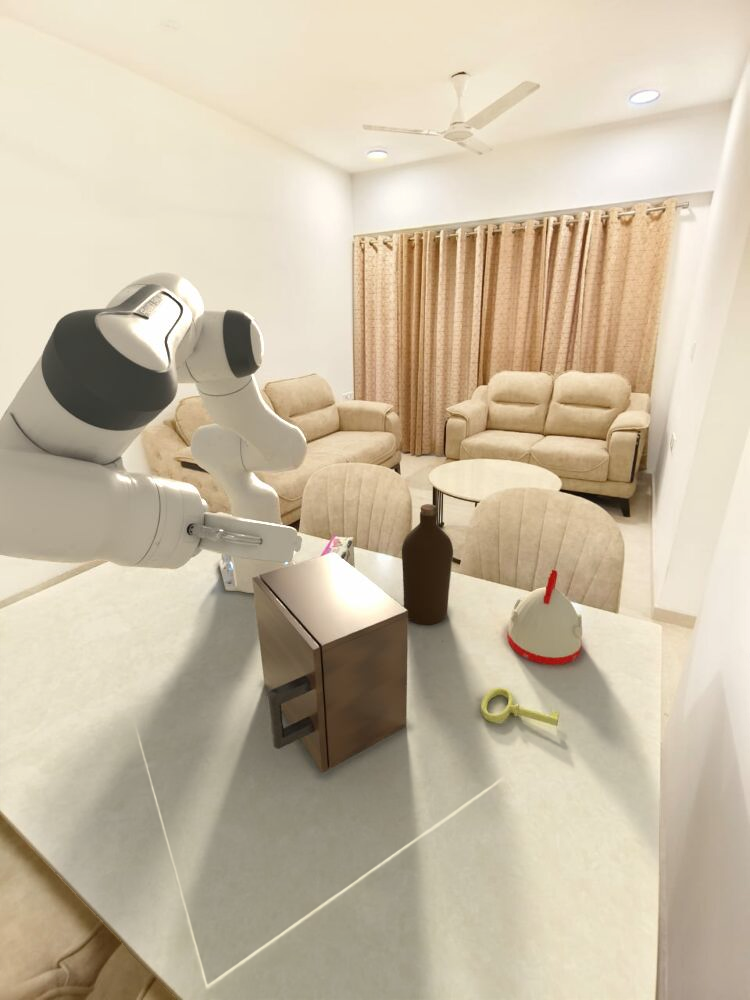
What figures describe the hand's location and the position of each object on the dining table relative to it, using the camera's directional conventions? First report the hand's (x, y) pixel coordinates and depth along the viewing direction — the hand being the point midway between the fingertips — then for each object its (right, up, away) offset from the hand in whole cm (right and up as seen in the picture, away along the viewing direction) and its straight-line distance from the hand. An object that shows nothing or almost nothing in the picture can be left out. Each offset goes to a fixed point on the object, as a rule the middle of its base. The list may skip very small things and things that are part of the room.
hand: (269, 538), depth 60 cm
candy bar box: (+5, -21, +49) cm, 53 cm away
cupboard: (+6, -30, +25) cm, 39 cm away
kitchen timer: (+46, -24, +40) cm, 65 cm away
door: (-3, -32, +19) cm, 38 cm away
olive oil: (+24, -20, +49) cm, 58 cm away
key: (+36, -31, +22) cm, 52 cm away
